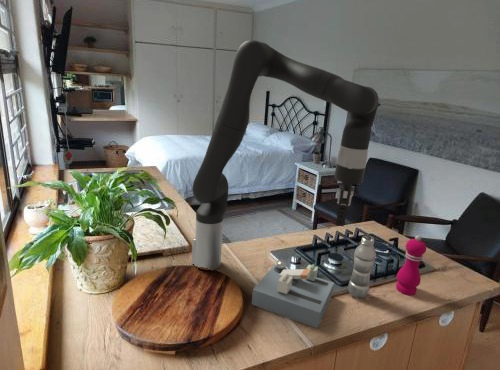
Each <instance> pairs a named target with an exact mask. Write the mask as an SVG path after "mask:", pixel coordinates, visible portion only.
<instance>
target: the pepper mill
mask: <svg viewBox="0 0 500 370" xmlns="http://www.w3.org/2000/svg"><path fill="white" fill-rule="evenodd" d="M405 250H406V251H405V257H406V258H405V262H404V264H403V265H402V267H400V269H399V270H398V272H397V274H396V280H397V282H396V285H395V289H396V290H397V291H398V292H399V293H401V294H403V295H407V296H414V295H416V293H417V291H418V287H419V285H420V284H421V273H420V269H419V267H420V266H419V265H420V262H421V261H422V260H423V256H424V254H426V252H427V245H426V243H425V242H424V241H423V240H422V236H421V235H418V234H417V235H415V237H414V238H410V239H409V240H408V241H406V243H405Z"/></svg>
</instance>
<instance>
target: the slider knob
mask: <svg viewBox="0 0 500 370" xmlns="http://www.w3.org/2000/svg"><path fill="white" fill-rule="evenodd" d="M292 278H293V277H291V276H289V274H286V275H285V274H283V275H282V276H281V277H280V279H279V280H278V287H277V291H279V292H282V293H285V294H287V293H288V292H289V290H290V289H291V286H292Z"/></svg>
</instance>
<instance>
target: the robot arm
mask: <svg viewBox="0 0 500 370" xmlns="http://www.w3.org/2000/svg"><path fill="white" fill-rule="evenodd" d="M231 69H232V70H231V73H230V77H229V83H228V86H227V89H226V92H225V94H224V97H223V102H222V103H221V108H220V111H219V114H218V115H217V118H216V122H215V124H214V127H213V130H212V135H211V137H210V141H209V144H208V147H207V149H206V152H205V155H204V158H203V160H202V163H201V165H200V167H199V169H198V171H197V173H196V176H195V178H194V180H193V182H192V183H193V184H192V195H193V196H194V198H195V201H197V202H199V203H201V204H200V206H199V207H198V208H197V209H196V213H195V232H194V233H195V236H194V238H193V239H192V244H191V245H192V247H191V248H192V249H191V250H192V251H191V264H192V265H193V264H194V265H193V266H194V267H195V266H198V267H204V268H210V269H214V270H218V269H219V268H220V267H221V265H222V251H223V250H222V247H223V232H224V217H225V216H224V215H225V214H226V212H227V207H228V199H229V198H228V197H229V181H228V178H227V177H226V176H225V174H224V173H223V172H224V169H225V167H227V164H228V163H229V161H230V160H231V159H232V157H233V156H234V155H235V153H236V151H237V150H238V149H239V147H240V146H241V144H242V141H243V139H244V136H245V133H246V131H247V130H248V129H247V128H248V125H249V122H250V102H251V96H252V92H253V89H254V88H255V85H256V83H257V80H258V78H259V77H266V78H272V79H276V80H279V81H282V82H285V83H287V84H289V85H291V86H292V87H295V88H296V89H298V90H299V91H302V92H303V93H305V94H307V95H309V96H312V97H314V98H317V99H320V100H322V101H324V102H327V103H330V104H333V105H335V107H338V108H341V109H342V110H343V111H346V112H348V115H347V116H348V117H347V122H346V125H344V127H343V131H342V135H341V136H342V137H341V141H340V146H339V150H338V154H337V159H336V165H335V170H334V171H335V172H334V176H333V177H334V179H335V180H336V181H338V182H341V183H342V184H339V187H338V191H337V192H338V193H337V194H338V196H337V202H336V203H337V204H338V206H337V209H336V212H337V213H336V214H337V215H336V219H335V225H336V226H339V227H344V225H345V223H346V222H345V221H346V217H347V214H348V208H349V207H350V206H351V203H352V198H353V196H354V192H355V187H354V186H352V185H360V184H362V183H363V181H364V177H365V173H366V172H365V171H366V167H367V166H366V165H367V162H368V154H369V153H368V151H369V147H370V140H371V135H372V127H373V125H374V121H375V117H376V114H377V110H378V107H379V95H378V93H377V91H376V90H375V89H374V88H373V87H369V86H364V85H361V84H359V83H355V82H352V81H349V80H346V79H344V78H343V77H341V76H339V75H337V74H334V73H332V72H330V71H327V70H324V69H321V68H319V67H316V66H312V65H309V64H307V63H303V62H299V61H297V60H294V59H292V58H290V57H288V56H286V55H285V54H283V53H281V52H279V51H278V50H276V49H275V48H273V47H271V46H270V45H269V44H267V43H266V42H262V41H259V40H256V39H249V40H245V41H244V42H243V43H241V45H240V46H239V47H238V49H237V50H236V53H235V57H234V60H233V65H232V68H231ZM214 270H213V271H214Z"/></svg>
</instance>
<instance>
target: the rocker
mask: <svg viewBox="0 0 500 370" xmlns="http://www.w3.org/2000/svg"><path fill="white" fill-rule="evenodd" d="M283 274H285V275H286V274H289V276H291V277H293V278H292V279H308V278H309V276H310V275H311V269H306V268H303V269H301V268H297V269H293V268H292V269H290V268H287V269H284V270H283V271H282V272H281V273H280V275H279V277H281V276H282V275H283Z"/></svg>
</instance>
